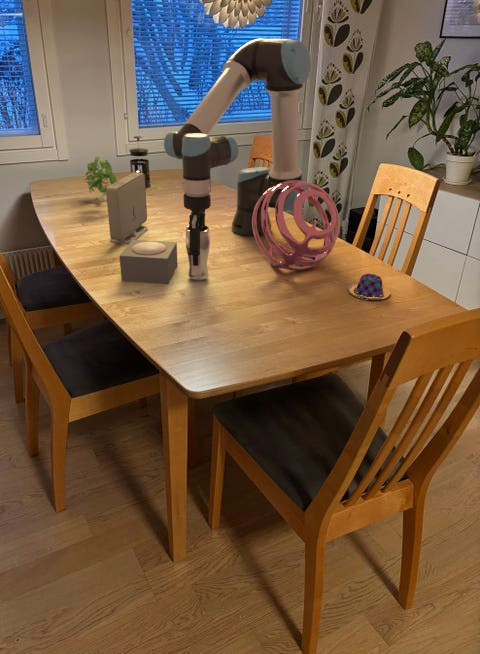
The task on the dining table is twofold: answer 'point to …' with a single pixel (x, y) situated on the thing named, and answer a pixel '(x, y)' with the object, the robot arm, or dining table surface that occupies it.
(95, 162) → the plant cuttings
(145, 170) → the french press
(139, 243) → the plate
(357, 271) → the dining table surface
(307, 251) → the spiral basket
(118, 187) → the network device
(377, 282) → the sun hat
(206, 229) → the beer glass
